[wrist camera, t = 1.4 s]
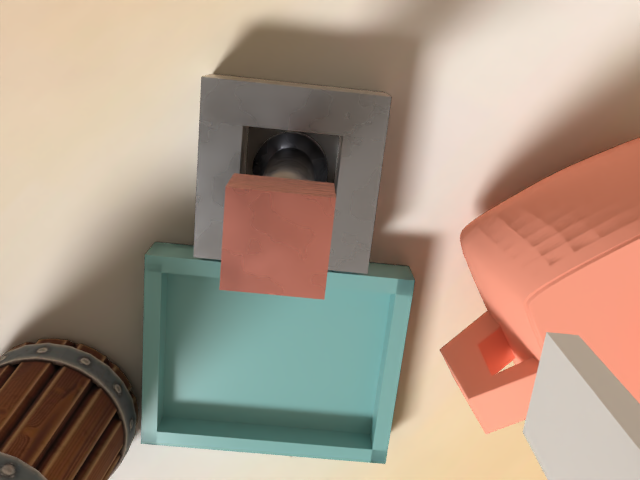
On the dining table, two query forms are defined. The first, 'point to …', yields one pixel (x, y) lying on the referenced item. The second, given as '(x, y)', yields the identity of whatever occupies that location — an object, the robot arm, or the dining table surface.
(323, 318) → the tray
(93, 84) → the dining table surface
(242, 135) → the eye block
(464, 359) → the teapot
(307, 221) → the rod with pink block
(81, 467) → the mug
